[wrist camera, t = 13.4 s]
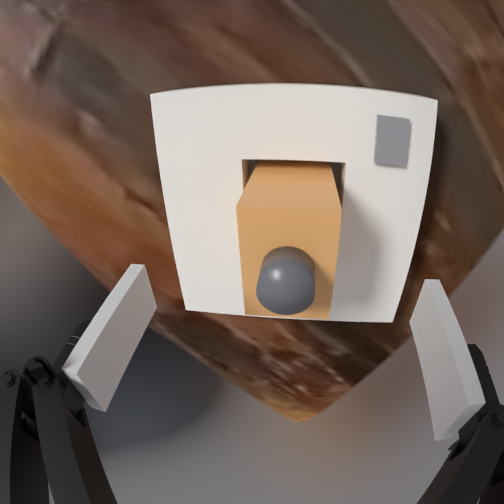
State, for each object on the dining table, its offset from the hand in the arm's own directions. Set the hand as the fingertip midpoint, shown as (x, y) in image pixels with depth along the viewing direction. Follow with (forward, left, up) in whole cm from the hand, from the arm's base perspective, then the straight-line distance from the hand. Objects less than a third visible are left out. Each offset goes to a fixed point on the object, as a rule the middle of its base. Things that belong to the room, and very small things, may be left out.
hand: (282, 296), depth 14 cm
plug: (0, 0, -11) cm, 11 cm away
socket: (0, 0, -11) cm, 11 cm away
